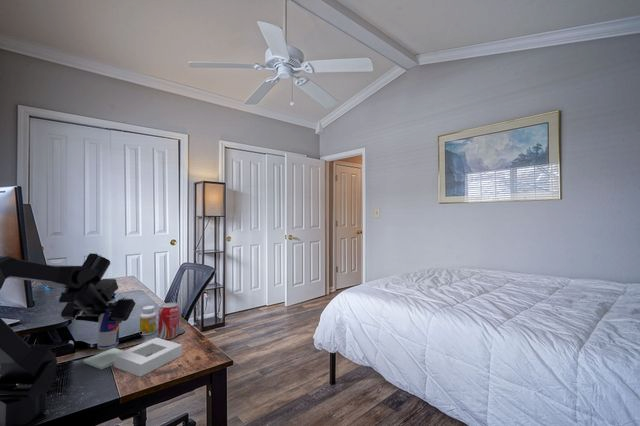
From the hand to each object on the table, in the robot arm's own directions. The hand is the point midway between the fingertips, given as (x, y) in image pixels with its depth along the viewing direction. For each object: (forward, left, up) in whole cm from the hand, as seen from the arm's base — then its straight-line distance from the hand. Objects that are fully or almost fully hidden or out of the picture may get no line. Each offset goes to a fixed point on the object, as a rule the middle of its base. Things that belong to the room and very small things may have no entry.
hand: (112, 321), depth 93 cm
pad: (-1, 0, -11) cm, 11 cm away
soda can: (+19, -2, -12) cm, 22 cm away
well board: (+4, -12, -11) cm, 17 cm away
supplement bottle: (+18, +8, -12) cm, 23 cm away
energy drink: (-1, -1, -7) cm, 8 cm away
